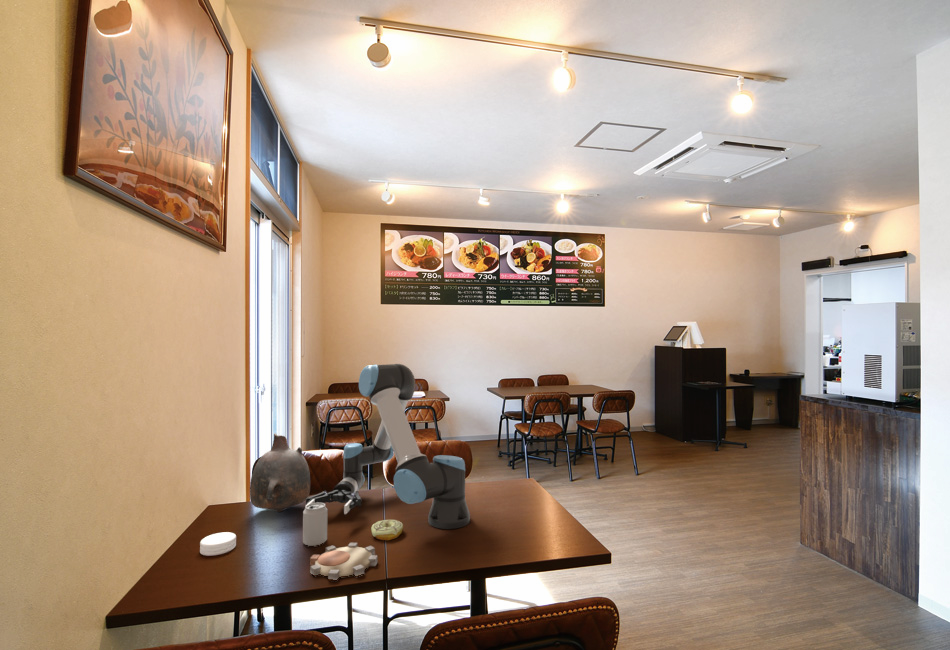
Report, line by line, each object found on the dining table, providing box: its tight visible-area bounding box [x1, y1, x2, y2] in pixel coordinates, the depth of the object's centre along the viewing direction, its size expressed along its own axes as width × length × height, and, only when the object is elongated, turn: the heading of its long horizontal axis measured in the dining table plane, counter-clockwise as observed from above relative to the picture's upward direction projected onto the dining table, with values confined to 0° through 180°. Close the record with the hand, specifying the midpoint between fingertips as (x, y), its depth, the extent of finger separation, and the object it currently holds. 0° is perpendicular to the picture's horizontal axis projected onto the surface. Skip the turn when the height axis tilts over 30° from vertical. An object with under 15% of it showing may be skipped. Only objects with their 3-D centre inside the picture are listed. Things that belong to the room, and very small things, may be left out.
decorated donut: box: [370, 519, 404, 541], centre depth 154 cm, size 10×11×4 cm
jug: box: [249, 432, 311, 513], centre depth 176 cm, size 24×21×30 cm
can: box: [302, 503, 328, 547], centre depth 148 cm, size 8×8×12 cm
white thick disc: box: [199, 531, 237, 557], centre depth 144 cm, size 10×10×4 cm
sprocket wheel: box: [309, 542, 378, 581], centre depth 133 cm, size 19×19×2 cm
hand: (325, 509), depth 158 cm, fingers open, 13 cm apart
